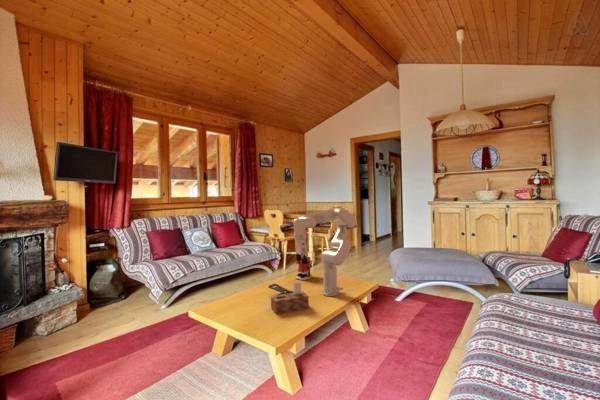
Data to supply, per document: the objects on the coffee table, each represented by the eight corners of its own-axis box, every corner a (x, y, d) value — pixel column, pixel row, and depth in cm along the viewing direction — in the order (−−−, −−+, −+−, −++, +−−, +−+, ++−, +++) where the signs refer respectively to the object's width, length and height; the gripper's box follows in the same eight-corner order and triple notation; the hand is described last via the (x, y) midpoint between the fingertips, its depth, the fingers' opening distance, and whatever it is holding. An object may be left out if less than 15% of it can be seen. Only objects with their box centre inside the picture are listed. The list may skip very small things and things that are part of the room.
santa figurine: (306, 274, 273) (305, 246, 272) (317, 277, 262) (316, 248, 261) (291, 278, 262) (290, 249, 261) (302, 281, 251) (301, 251, 250)
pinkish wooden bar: (300, 300, 197) (299, 281, 197) (301, 301, 195) (300, 282, 195) (293, 301, 196) (293, 282, 195) (294, 302, 194) (294, 283, 194)
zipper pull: (275, 282, 227) (301, 289, 211) (275, 291, 228) (301, 298, 211) (266, 286, 220) (292, 292, 204) (267, 295, 221) (292, 302, 205)
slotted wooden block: (303, 303, 203) (302, 291, 202) (308, 308, 193) (308, 296, 193) (271, 308, 195) (270, 296, 194) (275, 314, 185) (275, 301, 185)
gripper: (310, 238, 195) (312, 264, 196) (300, 234, 211) (301, 258, 212) (299, 239, 192) (301, 266, 193) (290, 235, 208) (291, 260, 209)
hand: (301, 262), depth 202 cm, fingers open, 9 cm apart
